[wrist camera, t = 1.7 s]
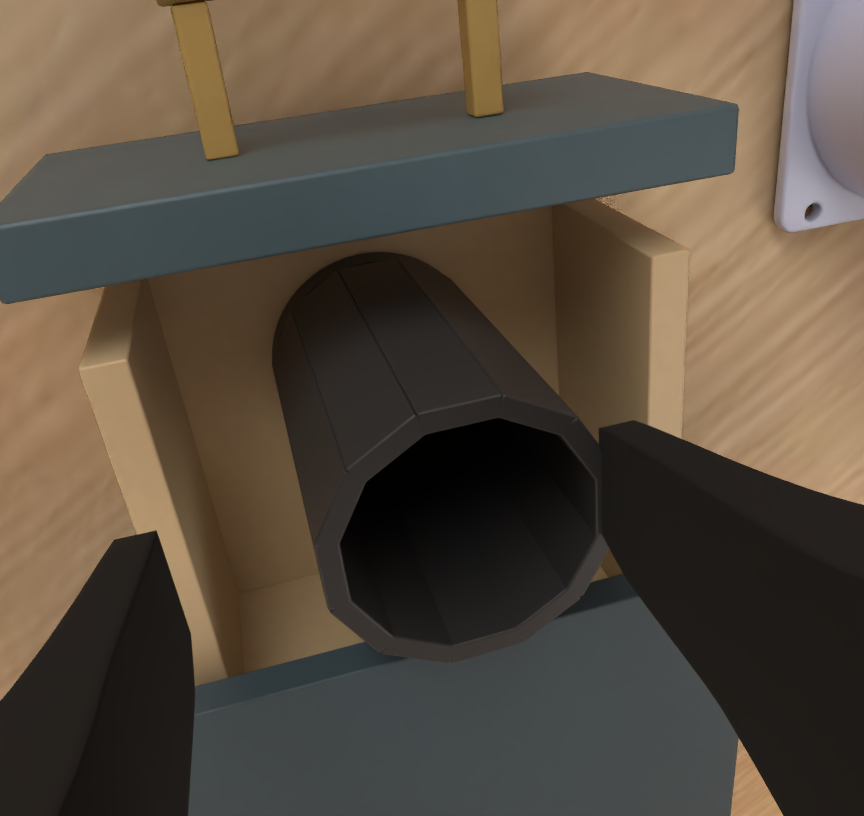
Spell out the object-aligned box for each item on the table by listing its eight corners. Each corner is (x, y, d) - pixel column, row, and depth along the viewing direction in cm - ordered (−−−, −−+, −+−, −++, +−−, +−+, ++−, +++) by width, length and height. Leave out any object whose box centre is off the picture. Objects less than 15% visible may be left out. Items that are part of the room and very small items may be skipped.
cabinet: (142, 504, 23) (115, 737, 16) (600, 402, 25) (757, 564, 18) (248, 817, 29) (263, 1079, 22) (603, 713, 31) (720, 921, 24)
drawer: (-26, -57, 15) (-150, -82, 10) (586, -124, 17) (760, -176, 12) (190, 602, 23) (187, 789, 18) (595, 502, 25) (703, 643, 20)
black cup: (463, 233, 19) (618, 368, 12) (480, 418, 22) (618, 616, 15) (251, 273, 18) (290, 442, 11) (293, 461, 21) (346, 693, 14)
